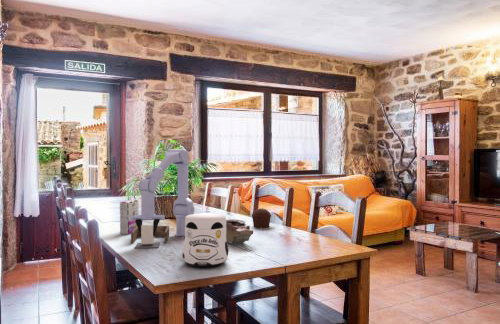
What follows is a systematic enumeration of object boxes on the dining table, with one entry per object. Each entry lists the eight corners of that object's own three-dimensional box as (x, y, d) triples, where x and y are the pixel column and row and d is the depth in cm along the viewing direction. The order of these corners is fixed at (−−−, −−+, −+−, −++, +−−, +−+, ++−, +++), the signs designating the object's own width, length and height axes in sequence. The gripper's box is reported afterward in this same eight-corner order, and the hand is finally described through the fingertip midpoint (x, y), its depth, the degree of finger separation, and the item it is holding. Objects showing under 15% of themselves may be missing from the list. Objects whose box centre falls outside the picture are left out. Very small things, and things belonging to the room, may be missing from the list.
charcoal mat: (160, 243, 182) (160, 242, 182) (158, 248, 173) (158, 247, 173) (137, 243, 181) (137, 242, 181) (134, 248, 172) (134, 247, 172)
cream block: (154, 241, 180) (154, 223, 180) (152, 243, 175) (152, 225, 175) (142, 241, 179) (142, 224, 179) (141, 244, 174) (141, 226, 174)
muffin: (274, 227, 222) (274, 210, 222) (256, 229, 218) (256, 211, 218) (265, 224, 233) (266, 207, 233) (248, 225, 229) (248, 208, 229)
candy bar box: (130, 229, 212) (130, 199, 212) (138, 230, 211) (139, 199, 211) (119, 234, 201) (119, 201, 201) (128, 234, 200) (128, 202, 200)
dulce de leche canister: (196, 273, 139) (196, 222, 138) (174, 261, 153) (174, 215, 152) (237, 265, 149) (237, 217, 148) (213, 255, 163) (213, 211, 162)
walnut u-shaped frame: (169, 235, 199) (169, 225, 199) (166, 243, 183) (166, 232, 183) (136, 236, 197) (136, 226, 197) (131, 243, 181) (131, 232, 181)
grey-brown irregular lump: (242, 237, 198) (242, 217, 198) (260, 245, 180) (260, 224, 180) (217, 239, 192) (217, 219, 192) (233, 248, 174) (233, 226, 174)
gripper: (129, 207, 172) (129, 238, 172) (163, 206, 174) (163, 237, 174) (132, 204, 179) (132, 234, 179) (165, 204, 181) (164, 234, 181)
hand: (147, 236), depth 177 cm, fingers closed on cream block, 5 cm apart
